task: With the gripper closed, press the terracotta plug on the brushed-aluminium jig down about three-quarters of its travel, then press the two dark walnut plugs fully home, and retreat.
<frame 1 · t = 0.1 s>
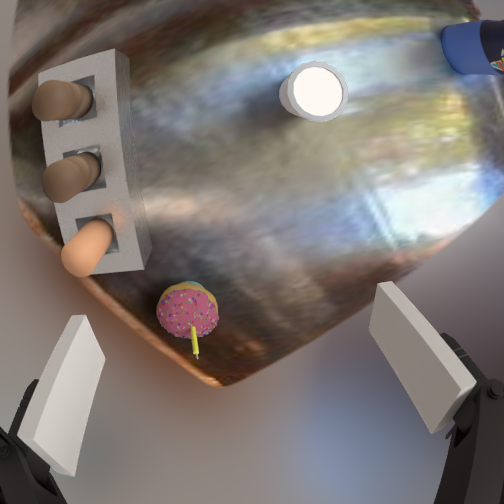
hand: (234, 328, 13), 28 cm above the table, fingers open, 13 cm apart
water bottle: (458, 49, 31), on the table
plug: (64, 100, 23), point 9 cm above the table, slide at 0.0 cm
jig: (101, 161, 34), on the table
cupcake: (189, 293, 44), on the table
white cup: (300, 94, 34), on the table
plug terracotta: (89, 245, 30), point 9 cm above the table, slide at 0.0 cm
plug mid: (73, 174, 26), point 9 cm above the table, slide at 0.0 cm
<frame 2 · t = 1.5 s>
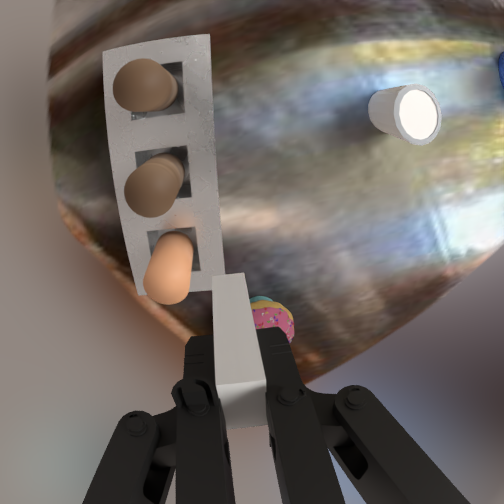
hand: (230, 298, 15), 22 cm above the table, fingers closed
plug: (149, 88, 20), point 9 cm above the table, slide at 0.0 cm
jig: (171, 163, 32), on the table
cupcake: (257, 308, 42), on the table
white cup: (386, 110, 32), on the table
plug terracotta: (170, 264, 28), point 9 cm above the table, slide at 0.0 cm
plug mid: (157, 181, 24), point 9 cm above the table, slide at 0.0 cm
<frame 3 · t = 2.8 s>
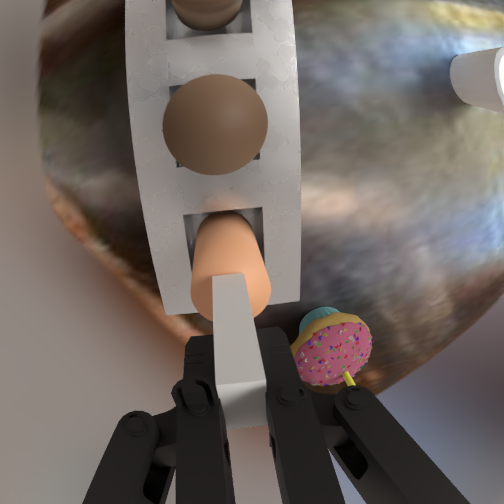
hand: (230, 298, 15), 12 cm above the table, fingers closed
jig: (214, 120, 21), on the table
cupcake: (318, 322, 32), on the table
white cup: (465, 79, 21), on the table
plug terracotta: (227, 260, 18), point 8 cm above the table, slide at 0.9 cm, touching gripper
plug mid: (214, 122, 14), point 9 cm above the table, slide at 0.0 cm
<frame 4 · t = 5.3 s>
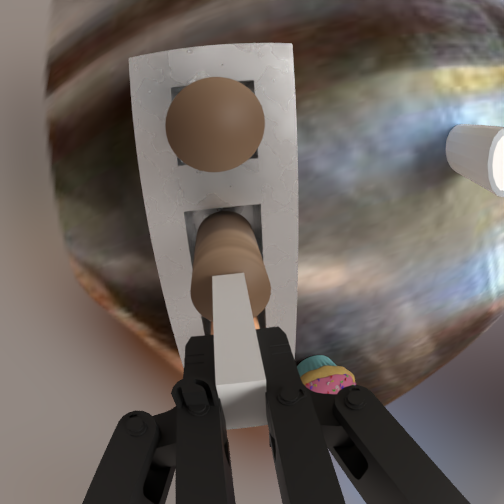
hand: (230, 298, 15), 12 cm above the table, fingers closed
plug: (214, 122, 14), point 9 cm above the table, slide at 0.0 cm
jig: (222, 214, 26), on the table
cupcake: (311, 367, 36), on the table
white cup: (460, 148, 25), on the table
plug terracotta: (235, 335, 24), point 6 cm above the table, slide at 2.5 cm
plug mid: (227, 261, 18), point 9 cm above the table, slide at 0.2 cm, touching gripper
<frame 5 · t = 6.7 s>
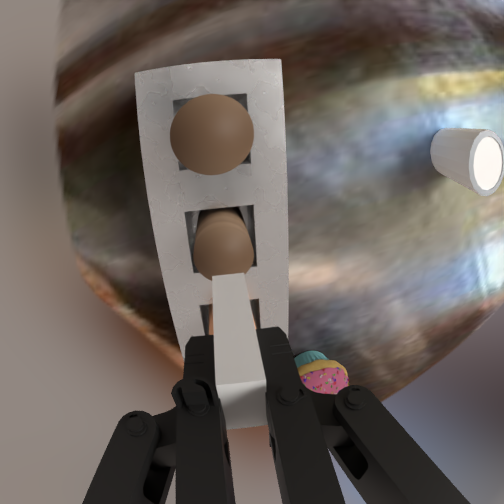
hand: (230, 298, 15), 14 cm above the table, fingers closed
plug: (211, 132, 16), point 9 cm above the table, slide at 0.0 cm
jig: (219, 215, 28), on the table
cupcake: (305, 362, 38), on the table
white cup: (445, 151, 28), on the table
plug terracotta: (232, 327, 25), point 6 cm above the table, slide at 2.5 cm
plug mid: (221, 236, 23), point 5 cm above the table, slide at 3.5 cm
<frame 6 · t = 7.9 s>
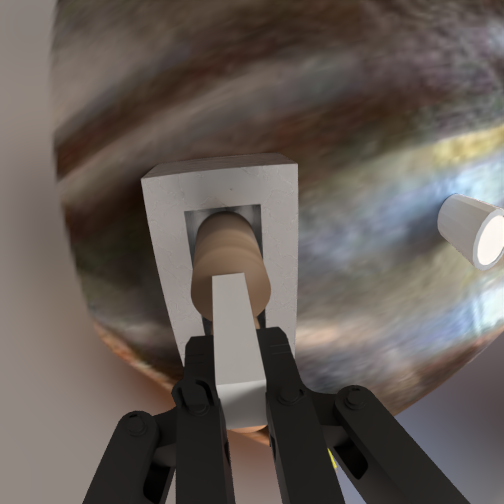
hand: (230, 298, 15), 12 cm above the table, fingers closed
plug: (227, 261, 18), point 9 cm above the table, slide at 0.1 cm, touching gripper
jig: (230, 292, 29), on the table
white cup: (452, 215, 29), on the table
plug terracotta: (243, 393, 27), point 6 cm above the table, slide at 2.5 cm
plug mid: (234, 327, 24), point 5 cm above the table, slide at 3.5 cm
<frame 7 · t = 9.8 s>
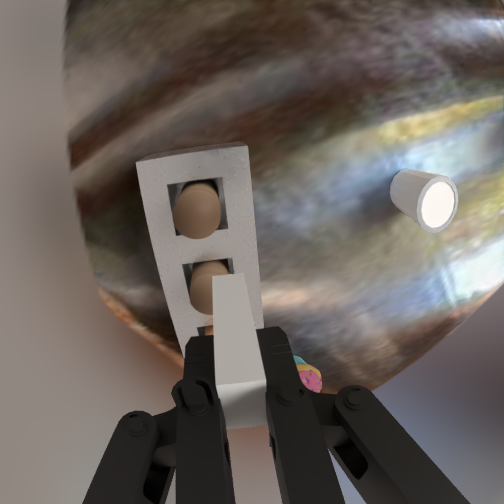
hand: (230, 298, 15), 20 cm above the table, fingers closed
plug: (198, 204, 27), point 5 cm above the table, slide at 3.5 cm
jig: (210, 256, 36), on the table
cupcake: (288, 365, 46), on the table
white cup: (406, 188, 35), on the table
plug terracotta: (221, 342, 34), point 6 cm above the table, slide at 2.5 cm
plug mid: (210, 279, 31), point 5 cm above the table, slide at 3.5 cm
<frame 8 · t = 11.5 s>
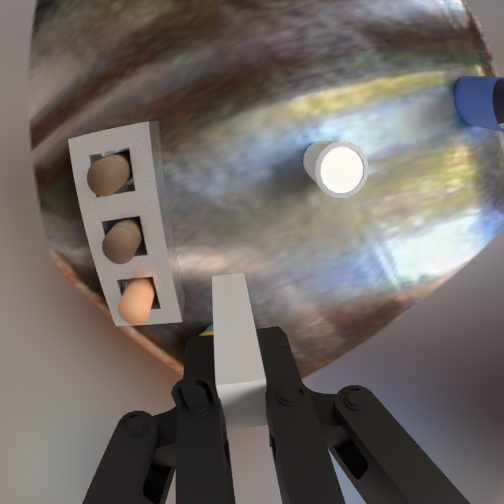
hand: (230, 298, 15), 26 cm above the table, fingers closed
water bottle: (469, 100, 36), on the table
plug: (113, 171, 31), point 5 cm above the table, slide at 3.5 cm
jig: (135, 221, 39), on the table
white cup: (322, 160, 39), on the table
plug terracotta: (138, 296, 37), point 6 cm above the table, slide at 2.5 cm
plug mid: (125, 236, 34), point 5 cm above the table, slide at 3.5 cm
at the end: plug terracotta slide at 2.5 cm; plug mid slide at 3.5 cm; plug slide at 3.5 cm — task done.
